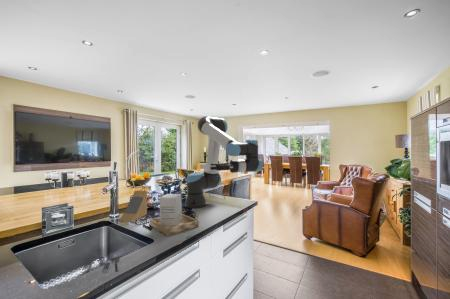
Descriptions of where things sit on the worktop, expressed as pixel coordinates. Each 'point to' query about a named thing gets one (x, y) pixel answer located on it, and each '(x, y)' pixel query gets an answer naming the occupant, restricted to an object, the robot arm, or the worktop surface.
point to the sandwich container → (136, 207)
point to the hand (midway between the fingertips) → (201, 167)
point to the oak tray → (184, 225)
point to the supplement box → (170, 210)
